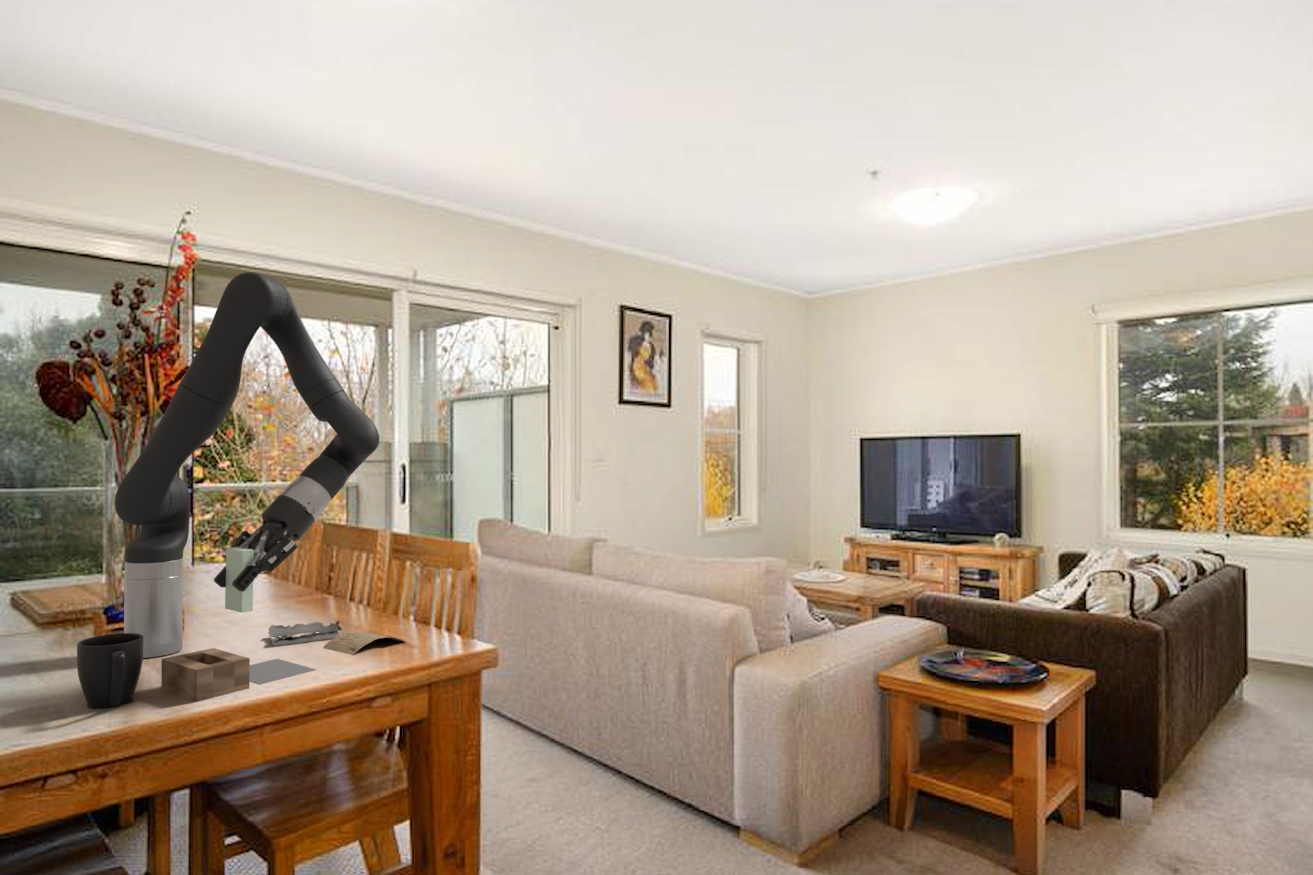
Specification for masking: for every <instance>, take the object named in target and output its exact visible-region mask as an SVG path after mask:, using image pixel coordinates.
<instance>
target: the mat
mask: <svg viewBox="0 0 1313 875" xmlns="http://www.w3.org/2000/svg"><path fill="white" fill-rule="evenodd" d="M314 671H317V668H314V667H313V668H312V667H309V666H307V665H306V666H305V665H302V664H298V663H294V662H291V661H287V660H285V659H284V660H283V659H280V658H275V659H269V660H266V661H261V662H256V663H253V664H250V668H249V683H253V684H257V685H264V684H268V683H272V682H274V681H275V682H276V681H279V680H283V679H286V678H291V677H294V676H298V675H303V674H305V673H309V672H314Z"/></svg>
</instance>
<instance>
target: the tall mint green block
mask: <svg viewBox="0 0 1313 875" xmlns="http://www.w3.org/2000/svg"><path fill="white" fill-rule="evenodd" d="M225 555H226V558H225V566H226V587H224V589H225V590H224V591H225V594H224V595H225V596H224V597H225V598H224V609H225V610H230V611H233V612H238V613H241V614H242V613H247V612H253V611H254V610H253V609H254V605H253V604H254V581H253V582H252V583H251V584H250V585H249V586H248V587H247V588H246V590H245V591H243V592H242V591H238V590H237V589H236V588H235V587H234V586H233V585H232V583H233V581H234V580H235V579H236V578H237V577H238V576H239V574H240V573H241V572H242V571H243V570H244V569H245V568H246V567H247V566H250V562H251V561H252V559H253V558H254V550H252V549H246V548H240V547H233V548H231V547H227V548H225Z"/></svg>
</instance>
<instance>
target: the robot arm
mask: <svg viewBox="0 0 1313 875" xmlns="http://www.w3.org/2000/svg"><path fill="white" fill-rule="evenodd" d="M260 328H261V329H262V330H263V331H264V332H265V333H266V335H268V336H269V337H270V338H271V340H272V342H274V344H275V345H276V346H277V348H278V350H279V351H280V353H281V355H282V357H283V359H284V362H285V364H286V367H287V371H288V373H289V376H290V377H291V381H292V382H293V385H294V388H295V389H296V391H297V392H298V394H299V396H300V397H301V399H302V400H303V402H304V403H305V404H306V405H307V408H308V409H309V410H310V412H311V414H312V415H313V416H314V417H315V419H317V420H318V422H322V423H326V422H327V424H328V425H329V426H330V427H331V429H333V430H334V432H335V433H336V435H335V436H334V437H333V439H332V440H331V441H330V442H329V443H328V444H327V446H325V448H324V449H323V450H322V451H321V453H320V454H319V455H318V457H316V458H315V459H313V460H312V461H311V462H310V464H308V465H307V466H306V467H305V468H304V469H303V470H302V471H301V473H299V475H298V476H297V477H296V478H295V479H294V480H292V481H291V482H289V484H288V485H287V486H286V487H285V488H284V489H283V490H282V491H281V492H280V493H279V494H278V496H276V498H275V499H274V500H273V501H272V502H271V503H270V504H269V505H268V506H267V507H266V508H265V510H264V511H263V512H262V513H261V519H262V525H260V526H259V527H258V528H256V530H254V531H253V532H251V533H250V532H248V530H243V531H242V532H241V533H240V534H239V536H238V537H237V538H236V539H235V541H234V542H233V544H232V545H231V546H230V548H233V547H240V548H246V549H252V550H254V558H253V559H252V561H251V562H250V566H247V567H246V568H245V569H244V570H243V571H242V572H241V573H240V574H239V576H238V577H237V578H236V579H235V580H234V581H233V583H232V585H233V586H234V587H235V588H236V589H237V590H238V591H242V592H243V591H245V590H246V588H247V587H248V586H249V585H250V584H251V583H252V582H253V583H254V580H255V579H256V578H257V577H258V576H259V575H263V574H264V573H266V572H267V573H272V572H273V571H274V570H275V569H276V568H277V567H279V566H280V565H281V563H283V561H285V560H286V559H287V558H288V557H289V556H290V555H291V554H292V553H294V552H295V550H297V548H298V547H299V546H298V544H296V543H295V542H297V541H299V540H301V538H302V537H303V536H304V535H305V534H306V532H307V531H308V530H309V529H310V527H312V525H313V524H314V523H315V522H316V521H317V520H318V518H319V517H320V516H321V515H322V514H324V512H325V510H326V509H327V507H328V506H329V504H330V502H331V501H332V500H333V499H334V498H335V497H336V495H337V494H338V493H339V492H340V491H341V489H342V488H344V486H345V484H346V483H347V480H348V479H349V478H350V476H351V475H352V474H353V473H354V472H356V470H357V469H358V468H359V467H360V466H361V465H362V464H363V462H365V461H366V460H367V459H368V458H369V457H370V456H371V455H372V454H373V453H374V452H375V451H376V450H377V448H379V445H380V434H379V431H378V428H377V427H376V425H375V423H374V421H373V420H372V419H371V418H370V417H369V416H368V415H367V413H365V412H364V411H363V410H362V409H361V408H360V406H359V405H357V403H356V402H354V401H353V400H352V399H351V398H350V397H349V396H348V394H347V392H346V391H345V389H344V388H343V386H342V384H340V382H339V380H338V379H337V377H336V376H335V374H334V373H333V371H332V370H331V369H330V367H329V365H328V364H327V363H326V361H325V360H324V358H323V357H322V355H321V353H320V352H319V350H318V348H317V346H316V344H315V343H314V341H313V339H312V337H311V336H310V334H309V332H308V331H307V329H306V326H305V324H304V322H303V319H302V317H301V315H300V313H299V312H298V309H297V307H296V304H295V302H294V300H293V298H292V296H291V293H290V291H289V290H288V289H287V287H286V286H285V285H284V284H283V283H282V282H280V281H279V280H277V279H276V278H272V277H270V276H267V275H264V274H261V273H258V272H253V271H247V272H242V273H240V274H238V275H236V276H234V277H233V278H232V279H230V281H229V282H228V284H227V285H226V287H225V288H224V291H223V294H222V295H221V298H220V301H219V303H218V306H217V308H216V310H215V313H214V315H213V319H212V320H211V324H210V326H209V328H208V331H207V333H206V335H205V336H204V339H203V341H202V342H201V344H200V346H199V348H198V350H197V352H196V353H195V356H194V357H193V359H192V362H190V365H189V367H188V368H187V370H186V372H185V374H184V375H183V377H182V379H181V381H180V382H179V384H178V386H177V388H176V390H175V392H174V394H173V395H172V397H171V400H170V402H169V404H168V405H167V408H166V410H165V411H164V414H163V415H162V417H161V419H160V421H159V422H158V424H157V426H156V428H155V429H154V432H153V434H152V435H151V436H150V439H149V441H148V443H147V444H146V446H145V447H144V449H143V450H142V452H141V453H140V455H139V456H138V458H137V459H136V461H135V462H134V463H133V465H132V466H131V467H130V469H129V471H128V472H127V473H126V474H125V476H124V477H123V479H122V481H121V482H120V484H119V486H118V488H117V490H116V493H115V497H114V507H115V512H116V514H117V516H118V518H119V519H120V520H121V521H123V522H124V523H126V524H129V525H135V526H140V532H139V534H138V535H137V536H136V538H135V539H134V540H132V541H131V542H130V543H129V544H128V545H127V546H126V547H125V548H124V575H123V576H124V589H123V590H124V591H123V593H124V600H123V603H124V604H123V606H124V609H123V633H135V634H141V635H143V659H144V658H145V659H146V658H157V657H163V656H166V655H167V656H168V655H171V654H174V653H177V652H179V651H181V650H182V649H183V623H184V622H183V620H184V619H183V616H184V606H183V605H184V551H185V550H184V549H185V547H186V545H187V543H188V540H189V535H190V534H189V533H190V520H191V519H190V518H191V517H190V516H191V494H190V490H189V488H188V485H187V483H186V482H185V480H183V479H182V478H181V477H180V476H179V475H177V474H178V472H179V470H180V469H181V467H182V466H183V464H184V463H185V462H186V460H187V459H188V458H189V457H190V456H191V455H193V453H195V451H196V450H198V449H199V448H200V447H201V446H202V445H203V444H205V443H206V441H207V440H209V439H211V437H212V436H213V435H214V434H215V433H216V432H217V430H218V429H219V428H220V427H221V426H222V424H223V422H225V419H226V417H228V414H229V412H230V410H231V408H232V406H233V405H234V403H235V400H236V399H237V395H238V392H239V389H240V385H241V377H242V367H243V363H244V362H243V361H244V358H245V355H246V352H247V349H248V348H249V346H250V344H251V342H252V340H253V339H254V337H255V336H256V333H257V332H258V331H259V329H260ZM224 558H225V559H226V554H225V555H224ZM213 582H214V583H216V584H217V585H218V587H220V588H224V589H225V587H226V565H225V566H224V567H223V568H222V569H221V570H220V571H219V573H217V575H216V576H215V577H214V578H213Z"/></svg>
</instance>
